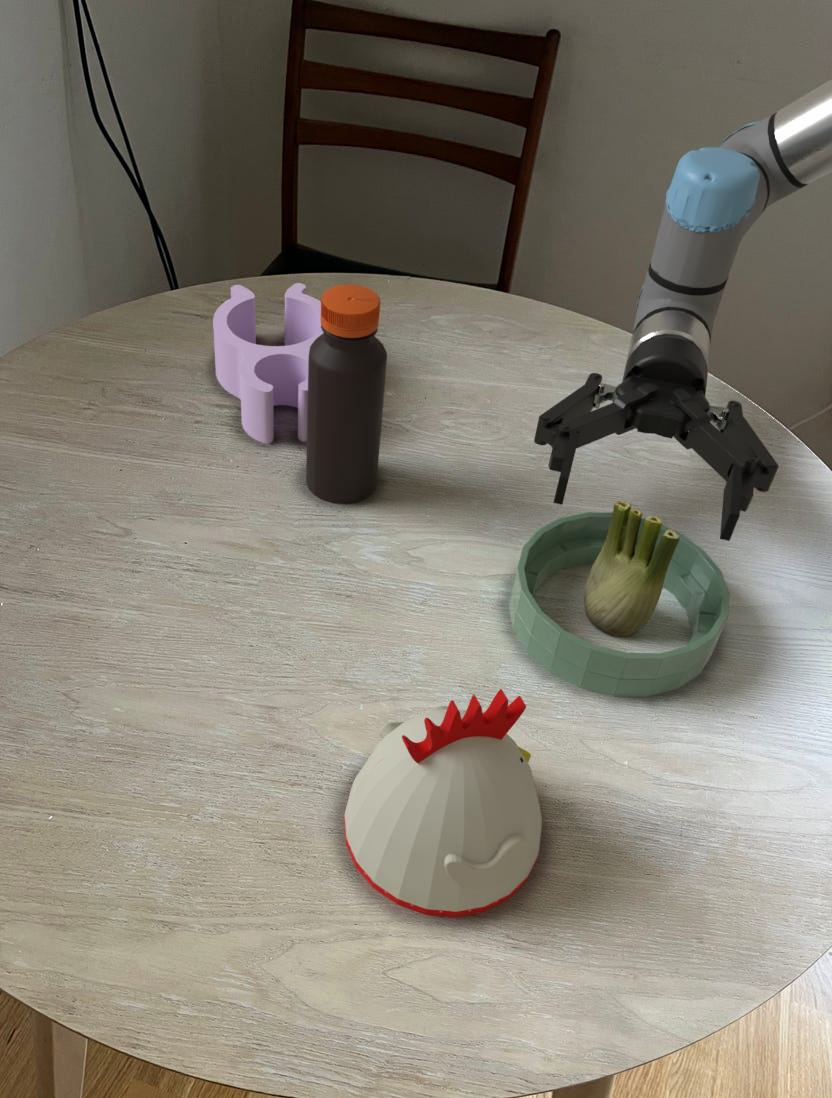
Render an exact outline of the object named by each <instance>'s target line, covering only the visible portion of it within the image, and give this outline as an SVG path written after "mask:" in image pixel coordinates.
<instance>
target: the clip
mask: <svg viewBox="0 0 832 1098" xmlns="http://www.w3.org/2000/svg"><path fill="white" fill-rule="evenodd" d="M212 325H213V326H212V327H213V346H214V363H215V364H214V365H215V376H216V379H217V381H218V383H219V384H220V385H221V387H222V388H223V389H224V390H225V391H226V392H227V393H229V394H231V395H232V396H234V397H236V398H238V399H239V400H240V414H241V415H240V416H241V417H240V418H241V427H242V428H243V430H244V432H245V433H246V434H247V436H249V437H251V438H252V439H254V440H255V441H258V442H259V443H262V444H265V445H268V444H269V445H270V444H272V443H273V441H274V439H275V438H274V436H275V435H274V406H290V407H294V408H297V438H298V440H299V441H300V442H302V443H307V410H308V360H309V350H310V346H311V345H312V343H313V342H314V341H315V340H316V339H317V338H318V337H319V336H320V335H322V334H323V331H322V329H321V300H319V299H317V298H315V297H313V296H311V295H308V294H307V286H306V284H304V283H301V282H296V283H295V282H294V284H292V285H291V286H290V287H288V288H287V289H286V291H285V293H284V345H279V346H277V345H273V346H272V345H263V344H257V333H256V332H257V331H256V330H257V329H256V295H255V294H254V293H253V291H252V290H250V289H248V288H246V287H245V286H243V285H241V284H234V285H232V286H231V287H230V298H229V299H227V300H225V301H224V302H223V303H221V304H220V305H219V306H218V307H217V309H216V310H215V312H214V314H213V317H212Z"/></svg>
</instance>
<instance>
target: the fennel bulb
mask: <svg viewBox="0 0 832 1098" xmlns="http://www.w3.org/2000/svg"><path fill="white" fill-rule="evenodd" d="M632 505H633V504H631V503H630V502H627V501H626V500H617V501H615V503H614V504H613V508H612V509H613V510H612V513H613V514H612V519H611V524H610V527H609V531H608V534H607V538H606V541H605V543H604V546H603V548H602V550H601V552H600V553H599V555H598V557H597V559H596V561H595V563H594V564H592V566H591V569H590V572H589V574H588V577H587V579H586V582H585V586H584V590H583V601H584V612H585V616H586V617H587V619H588V621H589V623H590V624H592V626H594V627H595V628H597V629H598V630H600V631H601V632H604V633H605V634H607V635H610V636H612V637H613V636H614V637H628V636H632V635H635V634H636V633H638V631H640V630H641V629H642V628H643V627H644V626H645V625H646V624H647V623H648V622H649V620H650V618H651V617H652V615H653V613H654V611H655V609H656V607H657V606H658V602H659V600H660V598H661V593H662V592H663V588H664V587H663V584H664V580H665V576H666V572H667V569H668V566H669V563H670V560H671V558H672V556H673V553H674V551H675V548H676V546H677V544H678V542H679V539H680V537H679V535H678V534H677V533H676V532H675V531H676V530H675V531H673V530H674V529H673V528H670V529H668V530H667V531H666V532H665V533H664V534H663V536H662V538H661V540H660V542H659V544H658V546H657V548H656V550H655V552H654V549H655V545H656V541H657V539H658V536H659V533H660V530H661V526H662V525H663V521H662V519H661V518H660V517H659V516H657V515H652V514H651V515H649V516H647V518H645V521H644V525H643V528H642V531H641V534H640V538H639V542H638V544H637V548H636V551H635V546H636V542H637V536H638V533H639V527H640V524H641V518H643V511H642V510H641V509H638V508H632ZM672 529H673V530H672ZM653 552H654V554H653ZM652 556H653V557H652Z"/></svg>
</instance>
